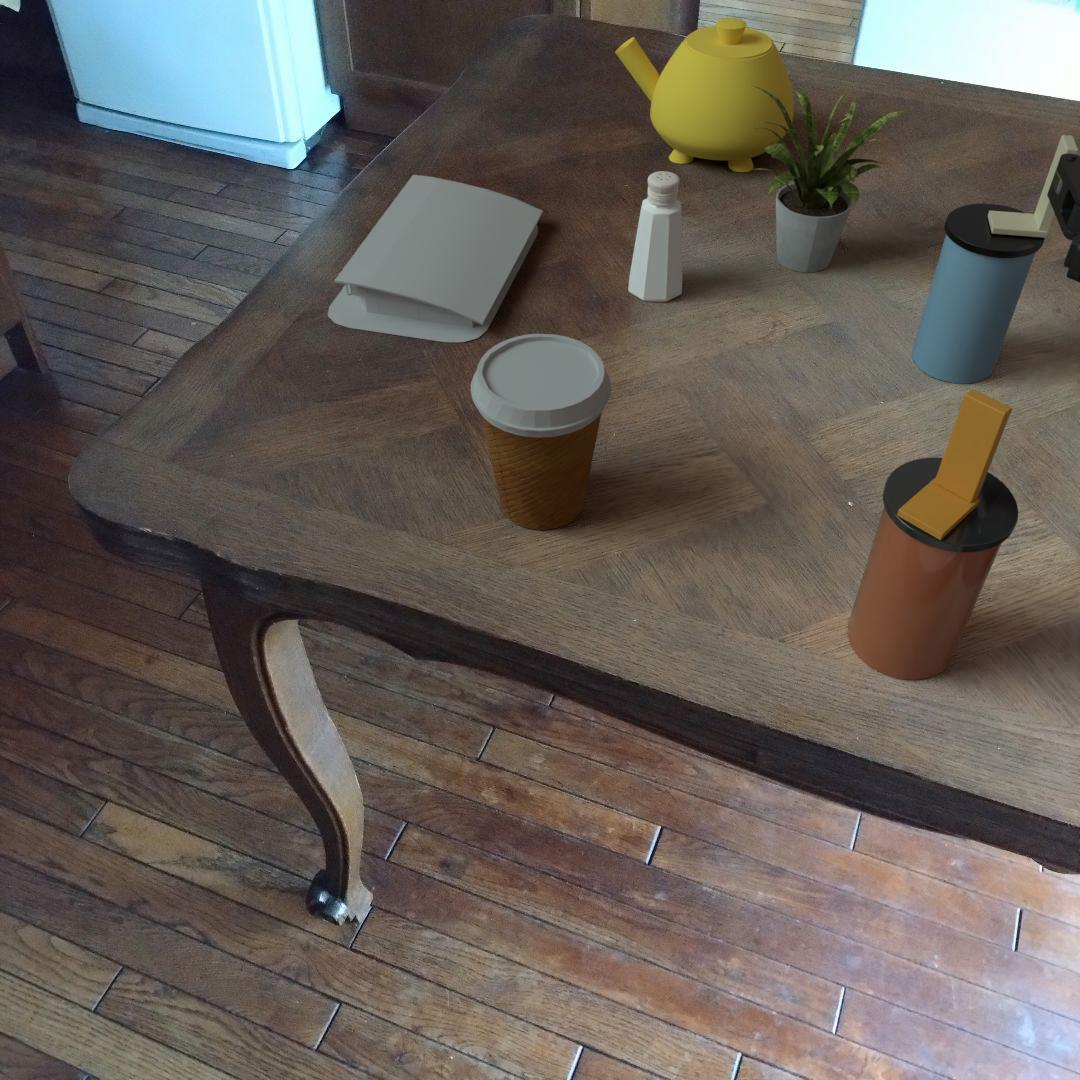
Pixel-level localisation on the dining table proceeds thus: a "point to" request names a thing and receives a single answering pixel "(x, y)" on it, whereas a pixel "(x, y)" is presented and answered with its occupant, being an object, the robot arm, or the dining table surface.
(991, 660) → the dining table surface
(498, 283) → the book
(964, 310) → the disc
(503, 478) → the disposable coffee cup
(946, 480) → the near slider
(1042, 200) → the block
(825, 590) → the dining table surface
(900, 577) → the near tumbler
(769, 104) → the teapot
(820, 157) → the house plant
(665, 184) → the salt shaker
